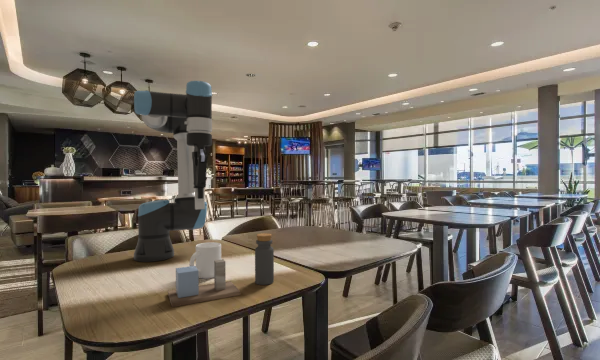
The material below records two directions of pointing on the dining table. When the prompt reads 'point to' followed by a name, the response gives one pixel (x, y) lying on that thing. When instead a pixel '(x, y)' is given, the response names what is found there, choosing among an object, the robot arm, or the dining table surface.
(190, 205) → the robot arm
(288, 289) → the dining table surface
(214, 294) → the stand
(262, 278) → the bottle
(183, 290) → the light blue block
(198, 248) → the mug
